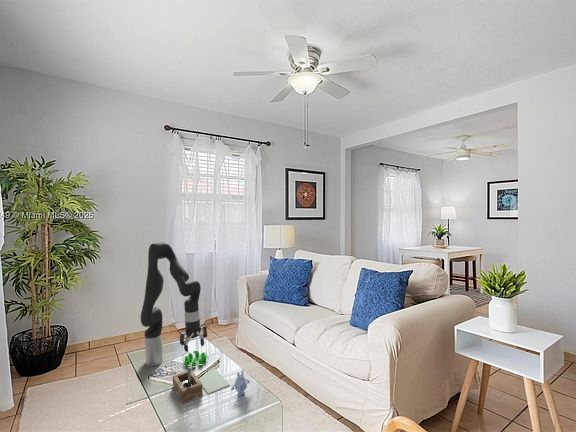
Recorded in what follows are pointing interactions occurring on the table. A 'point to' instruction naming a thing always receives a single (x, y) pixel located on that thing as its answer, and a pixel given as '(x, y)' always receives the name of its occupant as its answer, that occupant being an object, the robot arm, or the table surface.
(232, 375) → the table surface
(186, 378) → the brown wooden open box
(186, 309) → the robot arm
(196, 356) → the green lumpy cluster
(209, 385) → the mat
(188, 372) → the post stand
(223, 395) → the table surface
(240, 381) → the toy figure
